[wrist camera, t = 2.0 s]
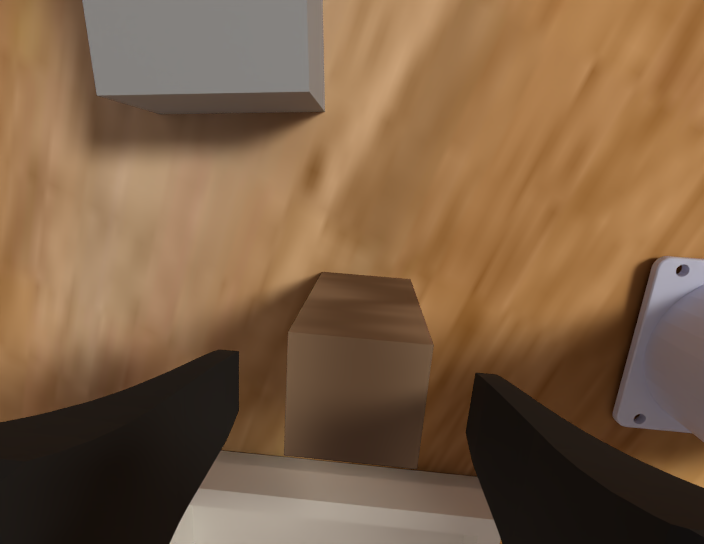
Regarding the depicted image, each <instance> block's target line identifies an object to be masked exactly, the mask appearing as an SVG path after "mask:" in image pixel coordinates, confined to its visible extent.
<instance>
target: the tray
mask: <svg viewBox="0 0 704 544" xmlns="http://www.w3.org/2000/svg"><path fill="white" fill-rule="evenodd" d="M500 539H501V538H500V535H499V532H498V530H497V527H496V524H495V522H494V519H493V517H492V514H491V511H490V509H489V506H488V503H487V501H486V498H485V495H484V493H483V490H482V487H481V485H480V482H479V479H478V477H474V476H464V475H455V474H445V473H435V472H425V471H416V470H406V469H396V468H386V467H377V466H367V465H357V464H348V463H338V462H328V461H318V460H309V459H299V458H289V457H279V456H270V455H260V454H250V453H241V452H231V451H220V453H219V454H218V456H217V458H216V460H215V461H214V463H213V465H212V466H211V468H210V470H209V472H208V473H207V475H206V477H205V478H204V480H203V482H202V483H201V485H200V487H199V489H198V490H197V492H196V494H195V495H194V497H193V499H192V501H191V502H190V504H189V506H188V507H187V509H186V511H185V513H184V515H183V517H182V519H181V521H180V522H179V524H178V527H177V529H176V531H175V533H174V535H173V537H172V540H171V542H170V544H500Z"/></svg>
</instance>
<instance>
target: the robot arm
mask: <svg viewBox="0 0 704 544" xmlns="http://www.w3.org/2000/svg"><path fill="white" fill-rule="evenodd" d="M680 265H682V270H681V271H680V272H679V273H678V274H676V269H677V268H678V267H679V266H680ZM238 411H239V351H228V350H217V351H214V352H211V353H208V354H206V355H204V356H202V357H199V358H197V359H195V360H193V361H191V362H189V363H186V364H184V365H182V366H180V367H178V368H176V369H173V370H171V371H169V372H167V373H165V374H162V375H160V376H157V377H155V378H153V379H150V380H148V381H145V382H143V383H141V384H138V385H136V386H133V387H131V388H128V389H126V390H123V391H120V392H117V393H114V394H111V395H108V396H105V397H102V398H99V399H96V400H93V401H90V402H86V403H83V404H79V405H75V406H71V407H67V408H63V409H60V410H56V411H52V412H48V413H44V414H40V415H35V416H31V417H26V418H21V419H16V420H11V421H6V422H0V544H170V542H171V540H172V537H173V535H174V533H175V531H176V529H177V527H178V524H179V522H180V521H181V519H182V517H183V515H184V513H185V511H186V509H187V507H188V506H189V504H190V502H191V501H192V499H193V497H194V495H195V494H196V492H197V490H198V489H199V487H200V485H201V483H202V482H203V480H204V478H205V477H206V475H207V473H208V472H209V470H210V468H211V466H212V465H213V463H214V461H215V460H216V458H217V456H218V454H219V453H220V451H221V449H222V447H223V446H224V444H225V442H226V440H227V438H228V436H229V433H230V431H231V429H232V426H233V424H234V421H235V419H236V416H237V414H238ZM638 414H640V415H639V417H637V418H636V419H634V417H635V416H636V415H638ZM613 418H614V420H615V421H616V422H617V423H618V424H620V425H621V426H624V427H633V428H643V429H653V430H664V431H674V432H684V433H693V434H694V435H695V436H697V437H698V438H699V439H700V440H702V441H703V442H704V259H697V258H685V257H672V256H664V257H661V258H658V259H657V260H656V261H655V262H654V263H653V265H652V268H651V272H650V276H649V279H648V283H647V287H646V291H645V294H644V298H643V302H642V305H641V309H640V313H639V317H638V320H637V324H636V328H635V331H634V335H633V339H632V343H631V346H630V350H629V354H628V358H627V361H626V365H625V369H624V372H623V376H622V380H621V384H620V387H619V391H618V395H617V399H616V402H615V406H614V410H613ZM466 436H467V440H468V445H469V450H470V454H471V458H472V462H473V465H474V468H475V471H476V474H477V477H478V479H479V482H480V485H481V487H482V490H483V493H484V495H485V498H486V501H487V503H488V506H489V509H490V511H491V514H492V517H493V519H494V522H495V524H496V527H497V530H498V532H499V535H500V538H501V540H502V543H503V544H704V488H702V487H700V486H697V485H695V484H692V483H690V482H687V481H685V480H682V479H680V478H678V477H675V476H673V475H671V474H668V473H666V472H664V471H662V470H659V469H657V468H655V467H653V466H650V465H648V464H646V463H644V462H641V461H639V460H637V459H635V458H633V457H631V456H629V455H627V454H625V453H623V452H621V451H619V450H617V449H615V448H613V447H612V446H610V445H608V444H606V443H604V442H602V441H600V440H598V439H596V438H595V437H593V436H591V435H589V434H588V433H586V432H584V431H583V430H581V429H579V428H578V427H576V426H574V425H573V424H571V423H570V422H568V421H566V420H565V419H563V418H561V417H560V416H558V415H557V414H555V413H554V412H552V411H551V410H549V409H548V408H546V407H545V406H543V405H542V404H540V403H539V402H537V401H536V400H534V399H533V398H532V397H530V396H529V395H527V394H526V393H524V392H523V391H521V390H520V389H519V388H517V387H516V386H514V385H513V384H511V383H510V382H508V381H507V380H505V379H503V378H502V377H500V376H498V375H495V374H484V373H475V379H474V385H473V391H472V397H471V403H470V409H469V416H468V422H467V428H466Z"/></svg>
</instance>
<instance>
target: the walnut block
mask: <svg viewBox="0 0 704 544" xmlns="http://www.w3.org/2000/svg"><path fill="white" fill-rule="evenodd" d="M433 346H434V345H433V342H432V339H431V336H430V333H429V331H428V328H427V325H426V322H425V319H424V316H423V314H422V311H421V308H420V305H419V302H418V299H417V297H416V294H415V291H414V288H413V285H412V282H411V280H410V279H401V278H389V277H377V276H365V275H353V274H341V273H329V272H322V273H321V275H320V277H319V278H318V280H317V282H316V284H315V285H314V287H313V289H312V291H311V292H310V294H309V296H308V298H307V300H306V301H305V303H304V305H303V307H302V308H301V310H300V312H299V314H298V315H297V317H296V319H295V321H294V322H293V324H292V326H291V328H290V330H289V331H288V350H287V380H286V410H285V440H284V455H285V456H294V457H304V458H314V459H323V460H333V461H343V462H352V463H362V464H372V465H381V466H391V467H401V468H410V469H417V466H418V459H419V451H420V444H421V436H422V429H423V421H424V414H425V406H426V399H427V391H428V384H429V376H430V369H431V361H432V354H433Z"/></svg>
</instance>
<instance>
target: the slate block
mask: <svg viewBox="0 0 704 544" xmlns="http://www.w3.org/2000/svg"><path fill="white" fill-rule="evenodd" d="M82 2H83V8H84V15H85V21H86V28H87V34H88V41H89V47H90V54H91V61H92V67H93V74H94V80H95V87H96V93H97V96H100V97H103V98H107V99H110V100H114V101H117V102H120V103H124V104H127V105H130V106H134V107H137V108H141V109H144V110H147V111H151V112H154V113H158V114H205V113H272V112H325V92H324V43H323V0H82Z"/></svg>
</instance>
